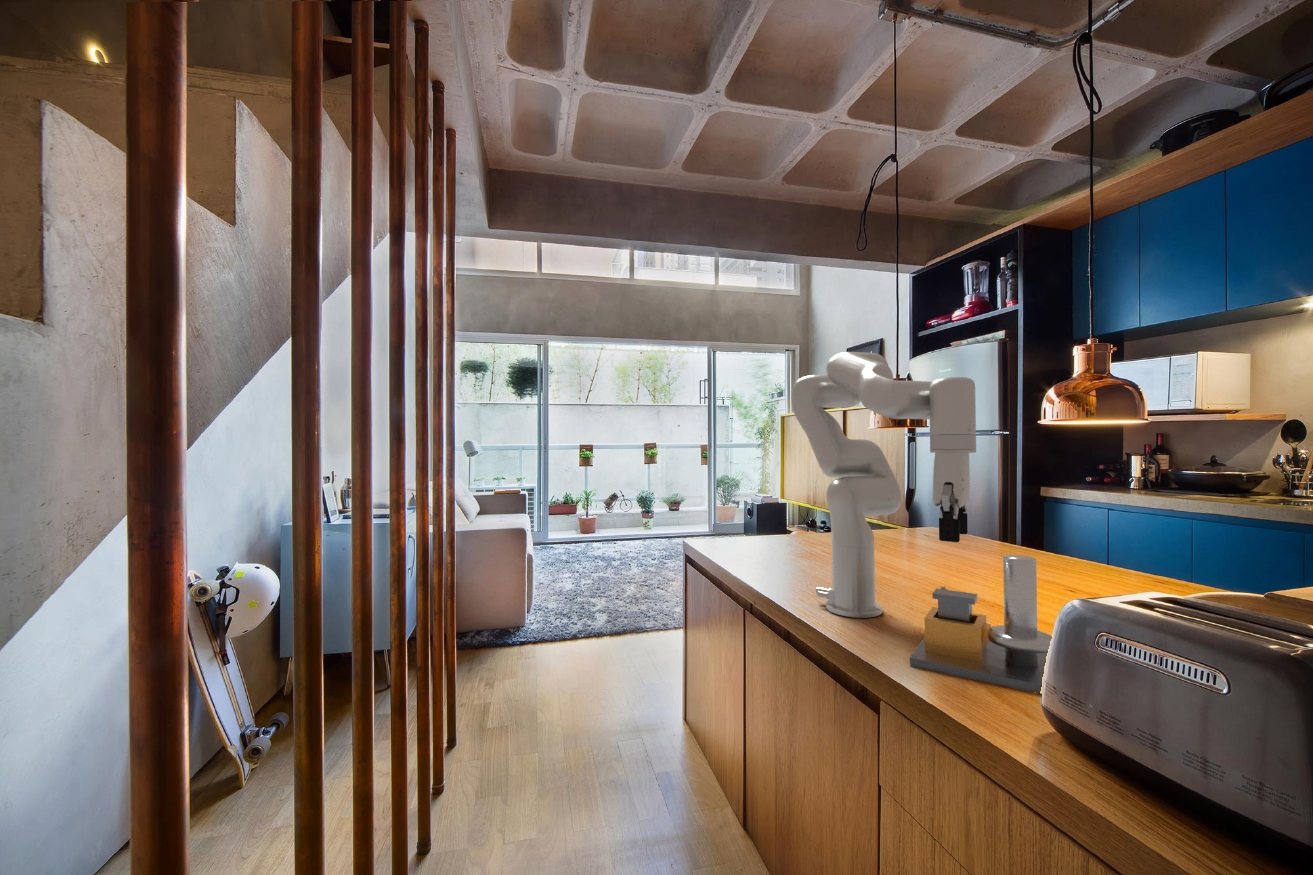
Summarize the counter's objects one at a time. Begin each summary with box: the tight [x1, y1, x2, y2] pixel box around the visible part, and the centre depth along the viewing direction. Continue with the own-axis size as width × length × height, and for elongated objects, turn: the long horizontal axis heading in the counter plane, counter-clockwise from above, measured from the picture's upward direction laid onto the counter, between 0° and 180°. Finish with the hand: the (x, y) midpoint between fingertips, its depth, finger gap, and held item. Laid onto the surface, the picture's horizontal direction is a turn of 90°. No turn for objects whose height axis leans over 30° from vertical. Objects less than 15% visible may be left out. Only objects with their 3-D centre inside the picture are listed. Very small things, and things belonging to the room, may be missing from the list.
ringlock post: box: [909, 554, 1053, 695], centre depth 98 cm, size 21×18×20 cm
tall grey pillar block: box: [931, 588, 978, 624], centre depth 101 cm, size 7×4×10 cm, turn 53°
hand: (953, 537), depth 101 cm, fingers open, 9 cm apart
